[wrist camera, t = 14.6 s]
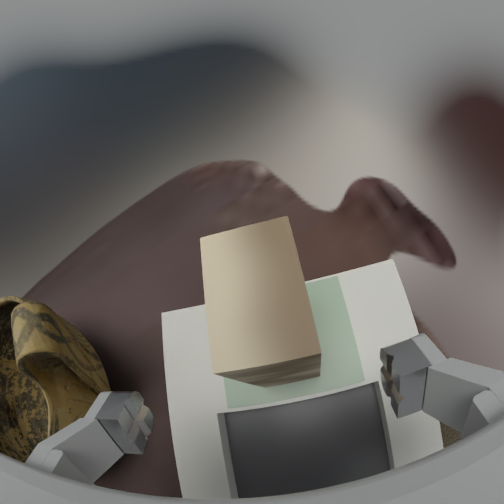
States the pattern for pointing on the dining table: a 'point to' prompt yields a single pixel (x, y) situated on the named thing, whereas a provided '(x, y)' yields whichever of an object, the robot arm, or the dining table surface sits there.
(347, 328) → the hole board
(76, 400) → the ceramic bowl
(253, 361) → the birch block
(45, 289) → the dining table surface
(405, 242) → the dining table surface
